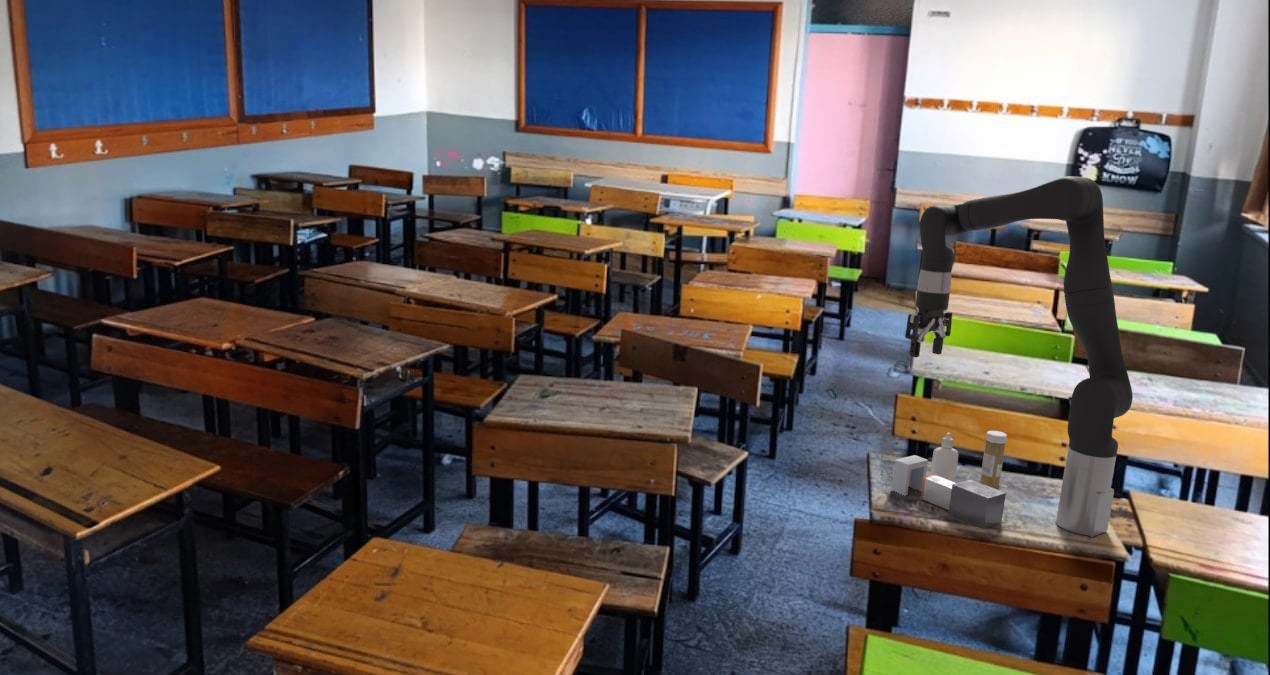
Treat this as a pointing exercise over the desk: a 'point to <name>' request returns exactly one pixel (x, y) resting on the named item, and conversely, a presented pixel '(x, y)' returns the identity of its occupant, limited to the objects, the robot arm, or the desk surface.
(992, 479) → the sprinkles bottle
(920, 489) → the socket block
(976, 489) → the sleeve
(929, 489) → the grey square post
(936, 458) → the eye dropper bottle
